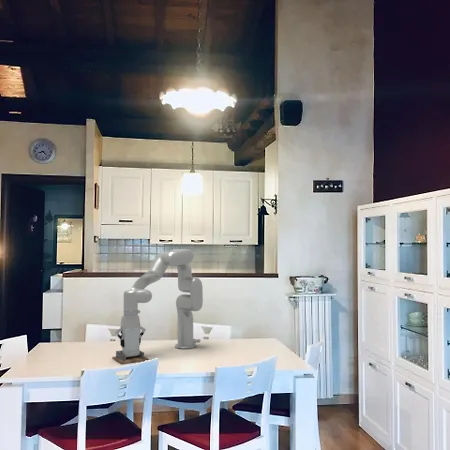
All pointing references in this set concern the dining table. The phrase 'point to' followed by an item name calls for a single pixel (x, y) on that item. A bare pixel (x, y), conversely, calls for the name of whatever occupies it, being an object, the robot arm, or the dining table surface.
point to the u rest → (129, 358)
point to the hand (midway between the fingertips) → (130, 345)
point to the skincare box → (131, 342)
